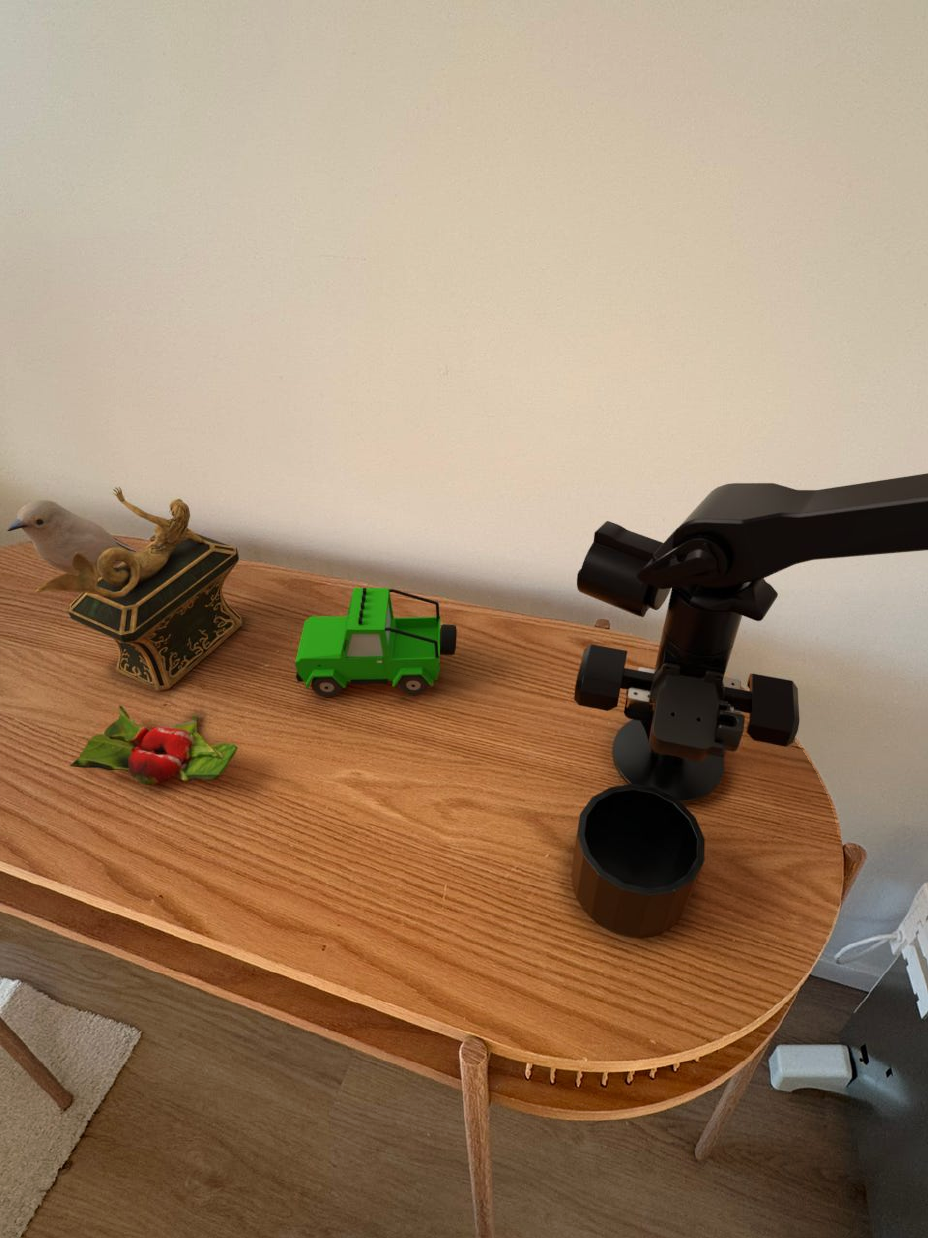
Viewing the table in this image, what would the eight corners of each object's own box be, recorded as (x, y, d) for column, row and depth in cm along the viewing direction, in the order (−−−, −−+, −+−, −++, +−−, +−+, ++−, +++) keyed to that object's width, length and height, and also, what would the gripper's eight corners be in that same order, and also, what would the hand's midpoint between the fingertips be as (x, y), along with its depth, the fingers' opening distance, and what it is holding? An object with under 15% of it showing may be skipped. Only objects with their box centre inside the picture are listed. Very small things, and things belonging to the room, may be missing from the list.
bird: (43, 613, 91) (-12, 511, 81) (135, 559, 99) (95, 460, 89) (66, 628, 89) (13, 525, 79) (158, 571, 97) (120, 471, 87)
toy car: (310, 647, 85) (295, 580, 78) (458, 644, 85) (455, 576, 78) (298, 701, 79) (281, 633, 72) (458, 697, 79) (455, 629, 72)
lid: (738, 751, 72) (751, 716, 69) (695, 827, 66) (706, 793, 62) (641, 705, 77) (648, 670, 74) (591, 772, 71) (597, 736, 67)
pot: (707, 869, 63) (724, 823, 58) (657, 962, 57) (671, 920, 52) (605, 812, 67) (614, 765, 63) (550, 893, 62) (554, 848, 57)
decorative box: (202, 593, 93) (155, 454, 80) (260, 616, 89) (221, 474, 76) (71, 696, 80) (-10, 550, 67) (133, 727, 76) (60, 580, 63)
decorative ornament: (65, 764, 69) (123, 682, 76) (91, 790, 73) (144, 709, 79) (203, 787, 65) (251, 698, 72) (223, 813, 68) (267, 726, 75)
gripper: (569, 678, 57) (557, 797, 67) (826, 728, 52) (771, 846, 63) (592, 591, 65) (578, 709, 75) (817, 627, 60) (769, 747, 71)
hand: (668, 751), depth 71 cm, fingers closed on lid, 2 cm apart
